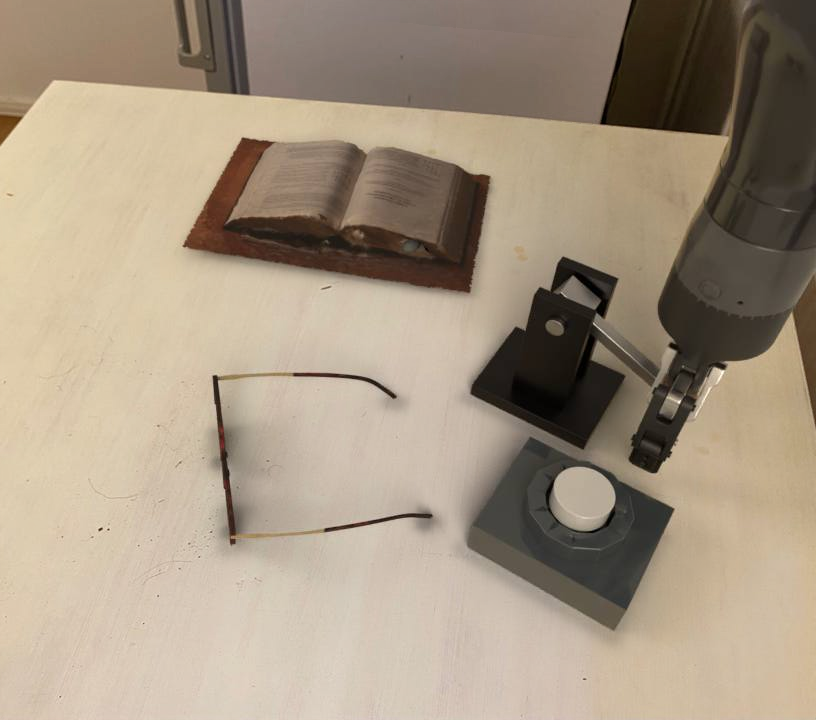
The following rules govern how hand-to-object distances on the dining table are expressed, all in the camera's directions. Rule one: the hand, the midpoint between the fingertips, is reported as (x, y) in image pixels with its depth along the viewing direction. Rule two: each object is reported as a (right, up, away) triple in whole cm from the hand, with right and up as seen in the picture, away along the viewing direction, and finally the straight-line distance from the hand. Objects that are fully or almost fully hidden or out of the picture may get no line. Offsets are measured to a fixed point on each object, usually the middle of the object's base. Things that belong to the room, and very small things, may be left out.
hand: (663, 427), depth 62 cm
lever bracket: (-8, +3, +5) cm, 10 cm away
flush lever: (-4, +5, -1) cm, 7 cm away
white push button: (-9, -5, -8) cm, 13 cm away
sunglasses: (-26, -3, 0) cm, 27 cm away
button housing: (-9, -8, -4) cm, 12 cm away
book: (-24, +20, +21) cm, 38 cm away
